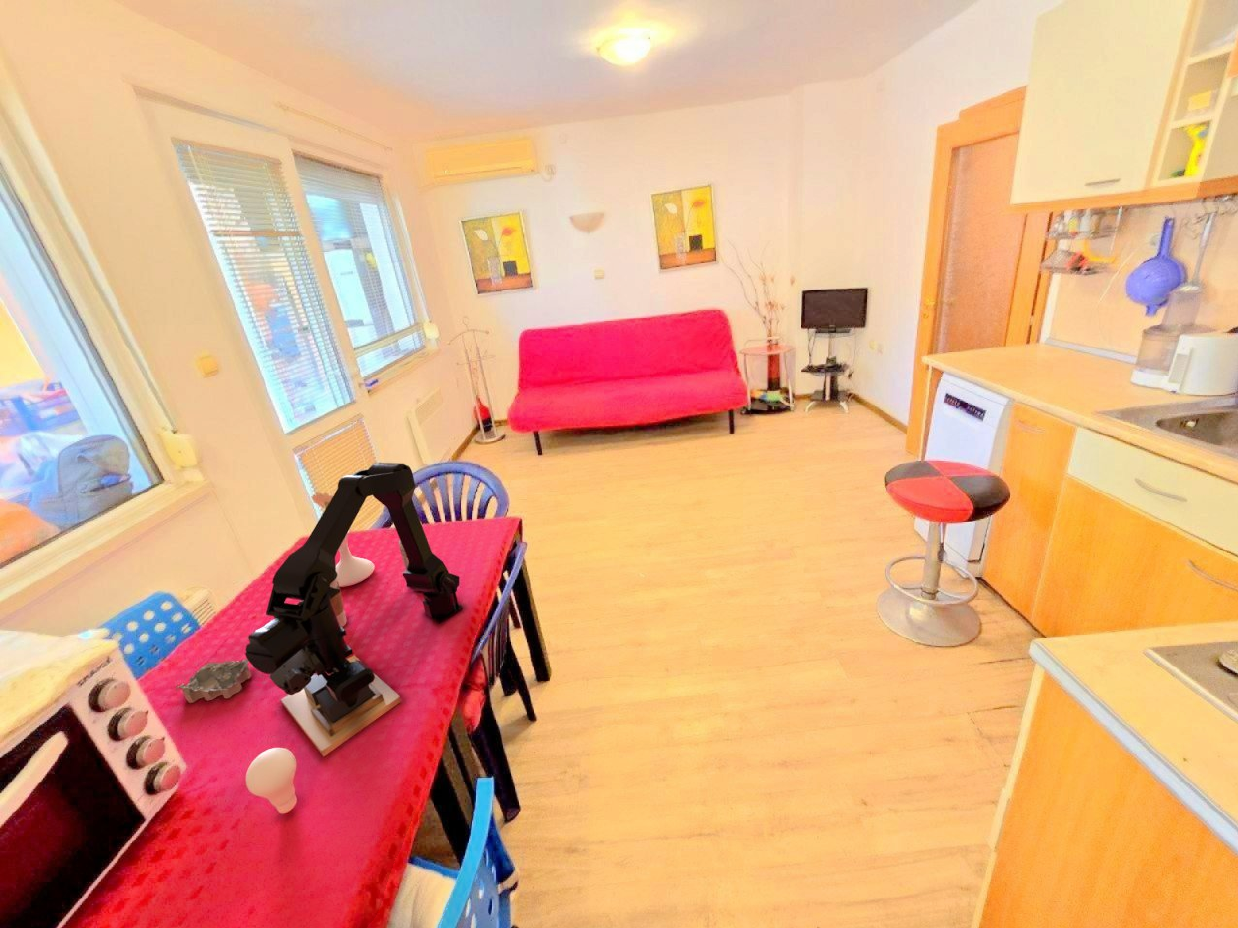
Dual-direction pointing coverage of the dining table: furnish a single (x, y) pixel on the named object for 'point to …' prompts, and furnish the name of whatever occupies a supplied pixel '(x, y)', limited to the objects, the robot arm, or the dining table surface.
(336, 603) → the coffee cup
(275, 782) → the lightbulb
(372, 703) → the backing board
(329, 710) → the dark rectangular block
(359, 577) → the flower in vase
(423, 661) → the dining table surface
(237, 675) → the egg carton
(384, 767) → the dining table surface
